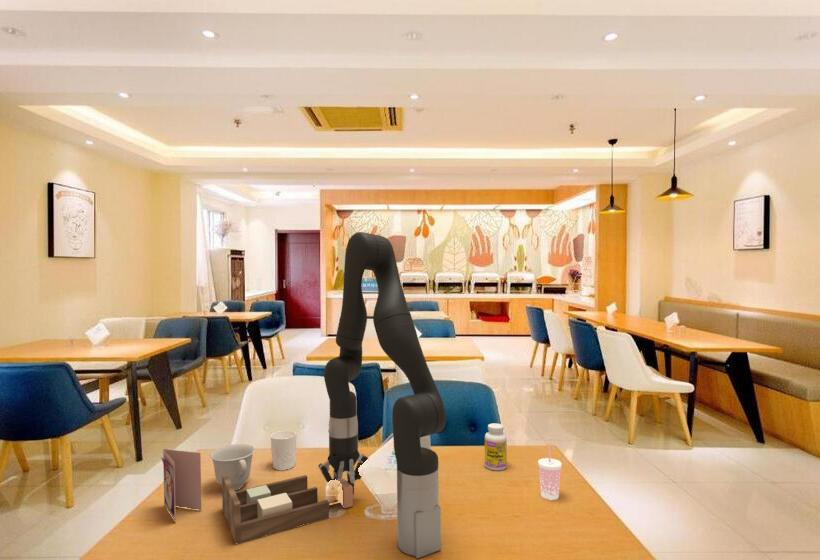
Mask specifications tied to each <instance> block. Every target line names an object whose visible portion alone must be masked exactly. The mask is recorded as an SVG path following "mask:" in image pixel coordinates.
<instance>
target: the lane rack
mask: <svg viewBox="0 0 820 560" xmlns="http://www.w3.org/2000/svg"><path fill="white" fill-rule="evenodd" d="M264 485H267V487H268V489H269V490H270V492H271V496H274V495H278V494H282V493H286V494H287V495H288V497H289V498H290V499H291V501H292V509H291V510H287V511H283V512H279V513H276V514H272V515H268V516H264V517H261V518H257V502H253V503H249V504H247V497H246V489H251V488H255V487H259V486H264ZM221 492H222V493H221V494H222V495H221V498H222V499H221V500H222V501H221V506H222V512H223V511H224V513H223V515H224V514H225V515H224V517H226V518H225V520H226V519H227V521H226V523H227V522H228V523H227V526H228V525H229V526H228V528H230V529H229V531H230V530H231V531H230V534H231V533H232V534H231V537H232V536H233V537H232V539H234V540H233V542H234V541H235V542H234V545H235V544H236V543H240V544H242V543H241V542H243V543H245V542H244V541H247V540H250V541H252V540H251V539H254V540H256V539H255V538H257V539H259V538H258V537H261V538H263V537H262V536H264V537H266V536H265V535H268V536H270V535H269V534H271V535H274V534H273V533H275V534H278V533H281V531H282V532H284V530H285V531H288V529H289V530H292V529H294V527H296V528H298V527H297V526H299V527H301V526H300V525H303V524H306V525H308V524H307V523H310V524H312V522H313V523H316V522H315V521H317V522H319V521H323V520H327V519H329V518H330V506H329V503H330V501H329V500H328V499H326V500H322V501H318V500H319V499H318V497H319V496H318V487H317V486H314V487H310V488H308V476H307V475H306V474H305V475H300V476H297V477H291V478H289V479H288V478H287V479H283V480H279V481H278V480H277V481H274V482H270V483H266V484H261V485H258V486H254V487H253V486H252V487H248V488H243V489H238V490H234V488H233V486H232V484H231V482H230V480H229V477H228V475H227V474H224V475H222V485H221ZM303 526H304V525H303ZM291 528H292V529H291ZM277 532H278V533H277ZM247 542H248V541H247ZM236 545H237V544H236Z"/></svg>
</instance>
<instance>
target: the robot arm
mask: <svg viewBox="0 0 820 560" xmlns="http://www.w3.org/2000/svg"><path fill="white" fill-rule="evenodd" d="M343 270H344V271H343V287H342V288H343V289H342V303H341V310H340V311H341V312H340V317H339V321H338V325H337V330H336V336H335V343H336V345H337V346H338V347H339V355H338V356H336V357H333V358H331V359H330V360H328V362H326V364H325V367H324V371H323V378H324V379H323V380H324V384H325V389H326V392H327V395H328V399H329V421H328V453H329V455H328V457H327V460H326V461H325V462H323V463H319V464H318V468H319V470H320V472H321V474H322V476H323V478H324V480H325V481H326V482H329V481H330V480H335V479H336V480H338V481H340V483H341V479H342V478H343V476H344V473H346V479H347V480H346V481H347V482H348V483H349V484H350V485H351V486H352V487H353V495H355V482H356V481H357V480H361V478H362V476H360V475H359V472H358V468H359V467H360V465H362V464H363V463H364V462H365V461H366V460H367V459H368V460H369V457H368V456H367V455H365V454H363V453H362V454H361V453H360V452H359V422H358V415H357V414H358V411H357V409H358V408H357V406H358V405H357V404H358V402H357V395H356V393H355V392H353V391H351V389H350V384H349V383H350V382H351V381H353V380H355V379H356V378H357V377H358V376H359V375H360V372H361V371H362V370H361V368H362V366H363V341H364V337H365V333H366V327H367V323H368V313H367V312H368V311H367V306H366V303H365V299H364V295H363V294H364V293H363V290H362V289H363V286H362V281H363V277H364V272H365V271H372V273H373V274H374V275H373V276H374V277H375V280H376V281H375V282H376V284H377V291H378V292H377V293H378V295H377V299H376V303H375V306H374V310H373V317H372V322H373V326H374V330H375V333H376V336H377V337H376V338H377V341H378V344H379V346H380V348H381V349H382V350H383V352H384V353H385V354H386V356H387V357H388V358H389V359H390V360H392V362H393V363H394V364H395V365H396V366H397V367H398V368H399V369H400V370H401V371H402V372H403V374H404V375H405V376H406V378H407V380H408V382H409V384H410V387H411V389H412V391H413V394H411V395H406V396H405V395H404V396H402V397H399V398H397V399H396V401H395V402H394V404H393V406H392V412H391V413H392V414H391V421H392V424H391V425H392V436H393V438H392V439H393V452H394V456H395V460H396V514H397V515H396V520H397V523H396V525H397V526H396V527H397V532H396V533H397V546H398V547H397V548H398V549H399V550H400V551H401V552H402V553H404V554H406V555H408V556H414V557H415V558H416V559H420V558H423V557H425V556H428V555H431V554H434V553H436V552H439V551H441V550H442V525H441V524H442V523H441V522H442V520H441V519H442V518H441V516H442V515H441V514H442V511H441V510H442V509H441V506H440V505H439V503H440V500H439V495H440V494H439V487H440V486H439V456H438V454H437V453H436V451H434V450H433V449H431V450H430V449H428V448H424V447H421V445H420V437H424V436H428V435H430V436H431V435H434V434H438V433H440V432H442V431H443V430H444V428H445V427H446V424H447V423H446V422H447V415H446V414H447V413H446V410H445V405H444V402H443V400H442V397H441V394H440V392H439V389H438V388H437V385H436V382H435V380H434V378H433V375H432V373H431V371H430V369H429V367H428V364H427V361H426V358H425V355H424V352H423V349H422V347H421V344H420V340H419V337H418V333H417V330H416V326H415V323H414V320H413V317H412V315H411V312H410V309H409V306H408V302H407V300H406V296H405V293H404V289H403V285H402V283H401V277H400V274H399V269H398V263H397V260H396V255H395V251H394V246H393V245H392V243H391V241H390V240H389V239H388V238H387V237H385V236H384V235H378V234H374V233H369V232H362V231H359V232H355V233H353V234H352V235H351V236H350V238H349V239H348V242H347V244H346V247H345V255H344V268H343ZM355 465H356V466H355ZM330 466H331V467H332V468H333V471H332V475H333V477H332V476H331V474H330V472H329V471H330Z"/></svg>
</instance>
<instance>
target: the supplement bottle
mask: <svg viewBox="0 0 820 560" xmlns="http://www.w3.org/2000/svg"><path fill="white" fill-rule="evenodd" d="M487 430H488V432H487V431H486V433H485V435H484V466H485V467H486V468H487V469H488V470H491V471H497V472H498V471H503V470H505V469H506V468H507V464H508V463H507V462H508V461H507V455H508V454H507V453H508V451H507V445H508V443H507V439H508V438H507V435H506V434H505V433H504V425H503V424H502V423H498V422H497V423H489V424H488V425H487Z"/></svg>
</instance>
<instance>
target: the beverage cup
mask: <svg viewBox="0 0 820 560" xmlns="http://www.w3.org/2000/svg"><path fill="white" fill-rule="evenodd" d="M551 445H552V444H551V443H548V457H544V458H540V459H538V461H537V465H538V467H539V468H538V469H539V470H538V471H539V484H540V496H541V497H542V498H543V499H545V500H550V501H551V500H552V501H553V500H558V499H559V498H560V486H561V485H560V483H561V470H562V465H563V464H562V462H561V461H560V460H558V459H556V458H552V457H551V455H552V453H551V447H552V446H551Z"/></svg>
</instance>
